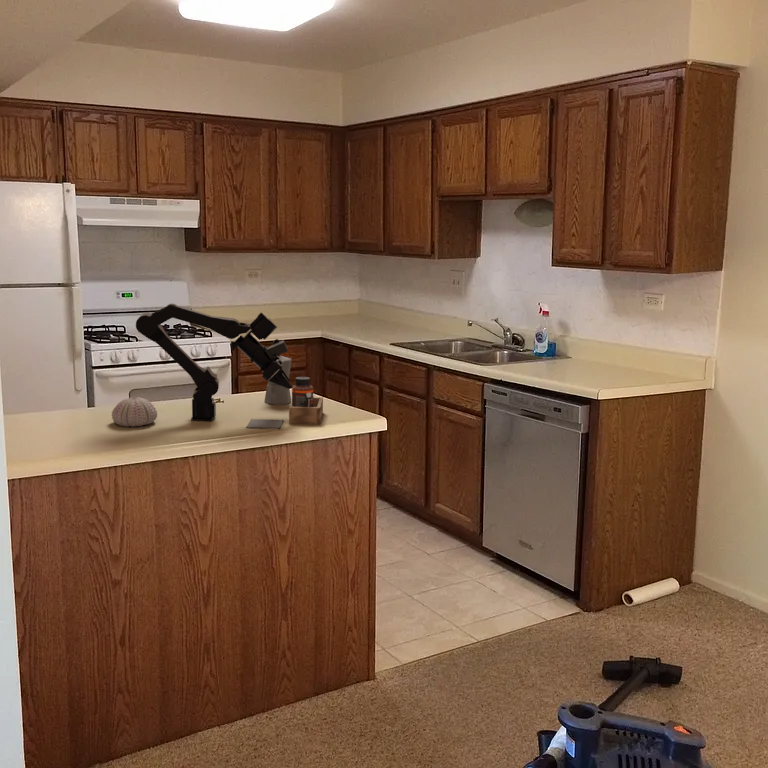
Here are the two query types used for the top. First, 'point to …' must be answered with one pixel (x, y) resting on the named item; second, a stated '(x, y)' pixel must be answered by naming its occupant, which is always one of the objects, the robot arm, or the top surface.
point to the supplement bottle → (302, 393)
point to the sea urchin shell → (134, 412)
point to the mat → (264, 423)
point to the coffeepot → (279, 386)
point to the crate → (307, 412)
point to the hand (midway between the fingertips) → (290, 384)
